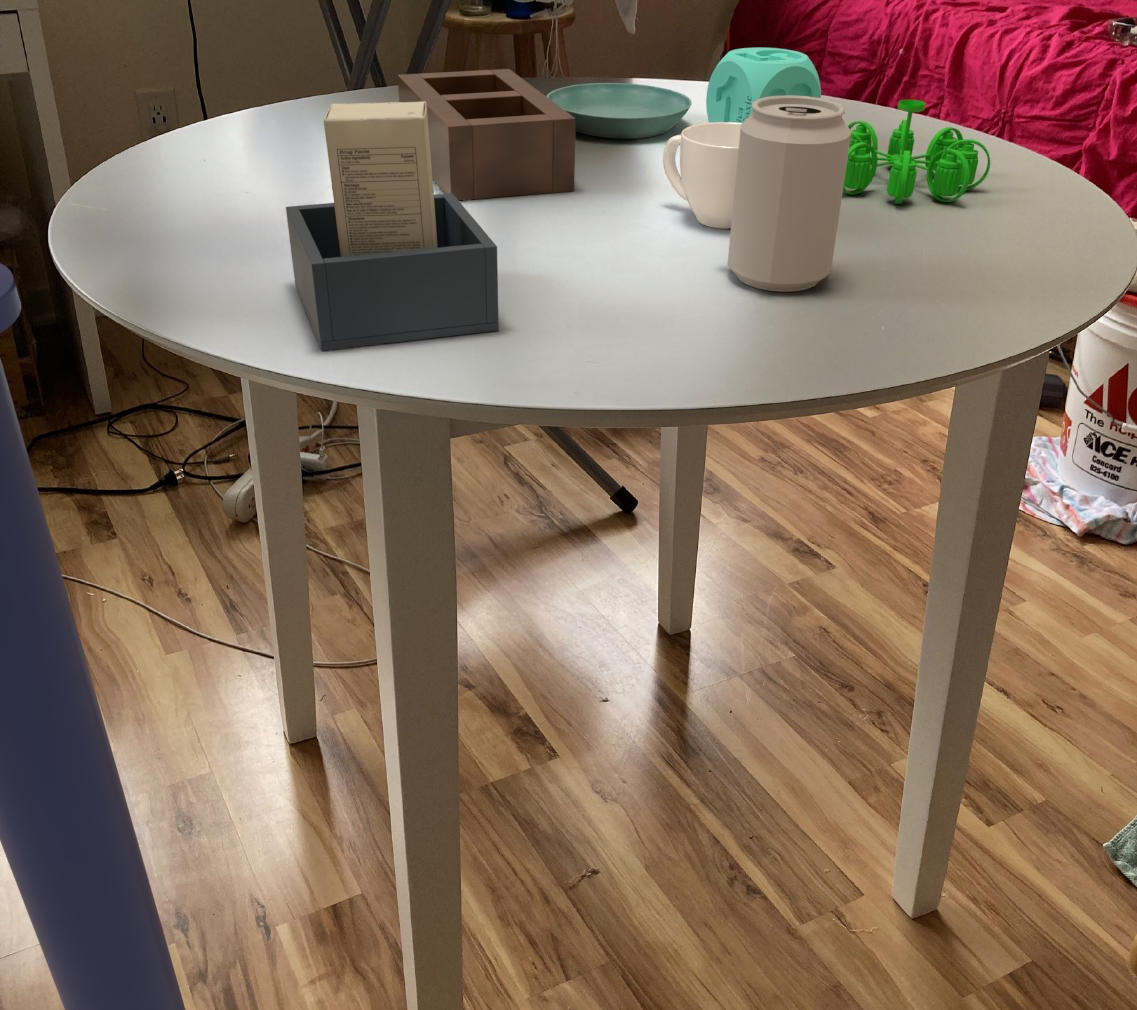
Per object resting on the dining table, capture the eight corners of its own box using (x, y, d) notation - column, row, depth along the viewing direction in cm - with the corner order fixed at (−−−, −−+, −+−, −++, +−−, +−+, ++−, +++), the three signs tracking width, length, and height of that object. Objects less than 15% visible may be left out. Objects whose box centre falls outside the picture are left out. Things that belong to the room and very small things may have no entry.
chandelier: (896, 153, 114) (910, 76, 110) (1020, 194, 104) (1040, 111, 100) (778, 175, 107) (787, 94, 103) (898, 221, 97) (914, 133, 93)
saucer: (581, 150, 113) (582, 121, 111) (524, 115, 124) (524, 88, 122) (716, 137, 118) (718, 109, 116) (649, 104, 129) (650, 77, 127)
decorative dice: (701, 138, 117) (708, 51, 113) (766, 129, 121) (776, 44, 116) (749, 158, 112) (758, 67, 107) (816, 148, 115) (827, 59, 110)
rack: (451, 201, 100) (448, 126, 96) (401, 140, 115) (397, 74, 111) (574, 191, 102) (575, 118, 99) (510, 133, 118) (509, 68, 114)
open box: (321, 351, 74) (311, 264, 71) (295, 286, 83) (285, 206, 80) (498, 330, 77) (497, 246, 74) (455, 270, 86) (452, 192, 83)
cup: (736, 242, 92) (745, 153, 88) (634, 215, 97) (638, 129, 93) (788, 219, 97) (798, 133, 93) (688, 194, 102) (694, 112, 98)
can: (835, 266, 88) (861, 95, 81) (821, 301, 82) (848, 120, 75) (736, 254, 90) (753, 86, 83) (716, 288, 84) (732, 110, 77)
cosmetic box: (441, 287, 82) (432, 99, 75) (439, 310, 78) (430, 116, 71) (347, 287, 81) (329, 99, 74) (341, 311, 78) (322, 116, 71)
